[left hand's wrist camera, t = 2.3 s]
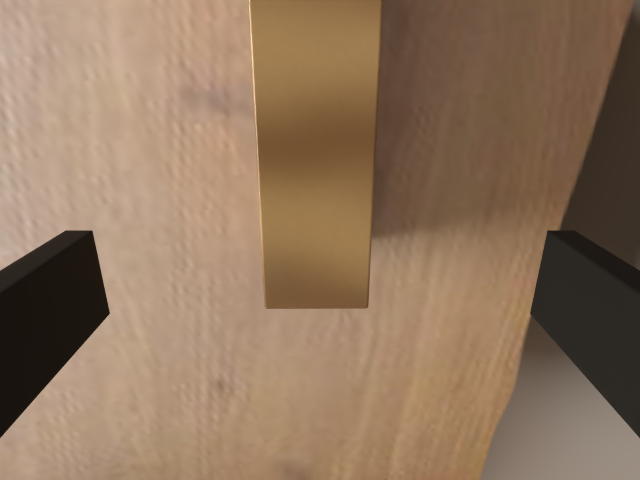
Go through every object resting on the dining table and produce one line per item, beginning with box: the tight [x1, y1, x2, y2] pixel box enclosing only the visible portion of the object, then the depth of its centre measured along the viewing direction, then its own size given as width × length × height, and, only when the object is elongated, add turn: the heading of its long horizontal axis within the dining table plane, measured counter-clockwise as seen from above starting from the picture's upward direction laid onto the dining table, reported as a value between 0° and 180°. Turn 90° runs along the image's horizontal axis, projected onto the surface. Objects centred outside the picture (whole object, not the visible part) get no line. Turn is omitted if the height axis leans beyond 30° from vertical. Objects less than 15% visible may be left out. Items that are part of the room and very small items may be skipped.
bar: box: [248, 0, 383, 309], centre depth 18 cm, size 24×4×8 cm, turn 0°
